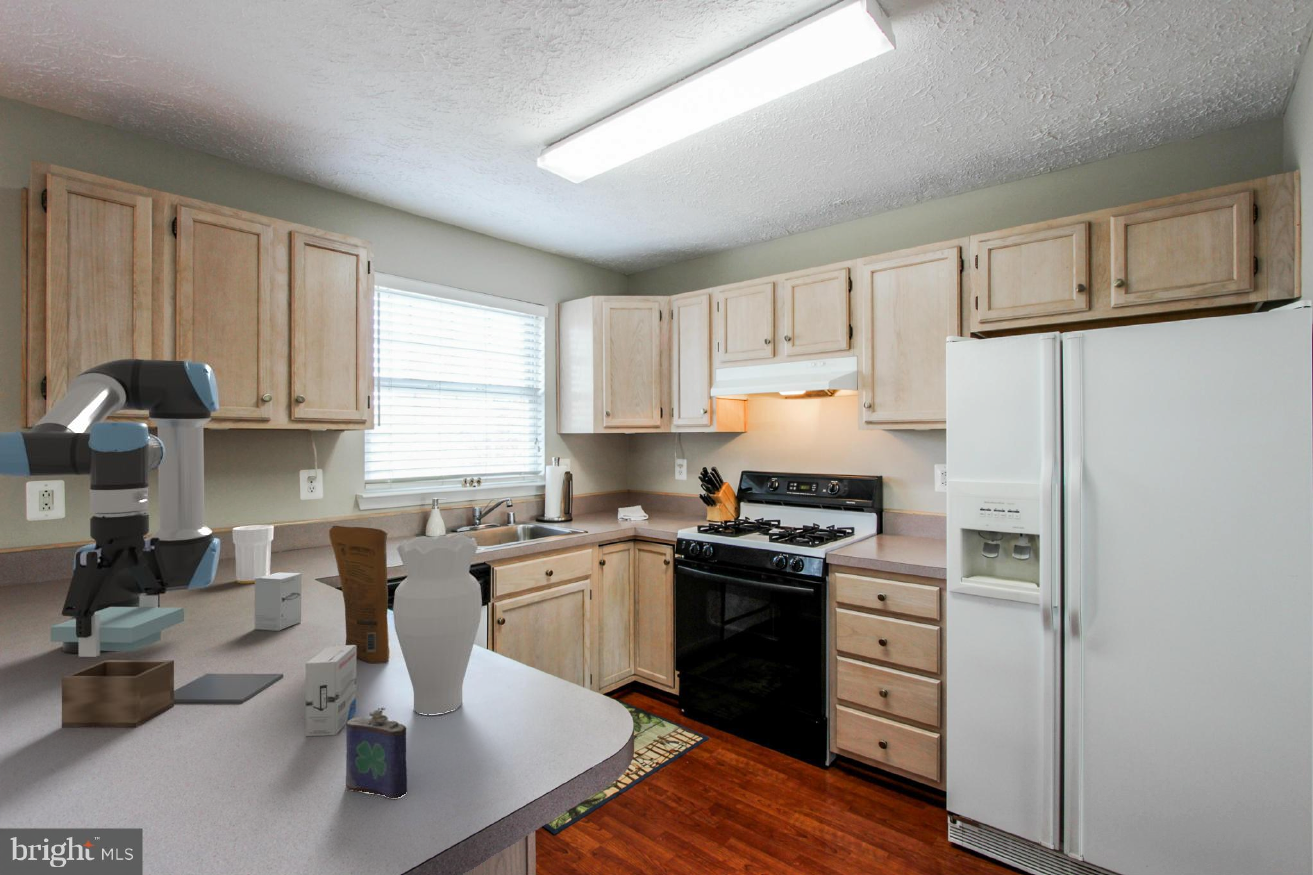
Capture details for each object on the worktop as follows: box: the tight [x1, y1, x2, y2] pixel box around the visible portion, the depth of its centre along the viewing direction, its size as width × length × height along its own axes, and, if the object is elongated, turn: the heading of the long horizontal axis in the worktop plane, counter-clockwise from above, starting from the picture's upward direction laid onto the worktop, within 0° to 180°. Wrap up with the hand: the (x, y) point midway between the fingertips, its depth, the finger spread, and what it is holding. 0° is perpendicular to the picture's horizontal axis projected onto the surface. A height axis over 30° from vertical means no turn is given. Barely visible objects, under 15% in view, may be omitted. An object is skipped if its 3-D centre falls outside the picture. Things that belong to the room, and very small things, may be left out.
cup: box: [231, 524, 275, 585], centre depth 205 cm, size 11×11×17 cm
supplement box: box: [254, 572, 302, 632], centre depth 156 cm, size 7×7×13 cm
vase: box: [392, 534, 483, 715], centre depth 110 cm, size 15×15×29 cm
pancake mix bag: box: [328, 525, 390, 664], centre depth 135 cm, size 7×19×28 cm, turn 53°
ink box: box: [305, 645, 357, 737], centre depth 103 cm, size 9×5×12 cm, turn 5°
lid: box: [50, 606, 185, 652], centre depth 106 cm, size 13×11×5 cm
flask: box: [345, 707, 408, 799], centre depth 84 cm, size 9×3×11 cm, turn 72°
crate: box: [61, 659, 175, 729], centre depth 106 cm, size 12×8×8 cm, turn 90°
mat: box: [174, 673, 284, 704], centre depth 117 cm, size 15×12×1 cm
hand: (120, 643), depth 106 cm, fingers closed on lid, 11 cm apart
